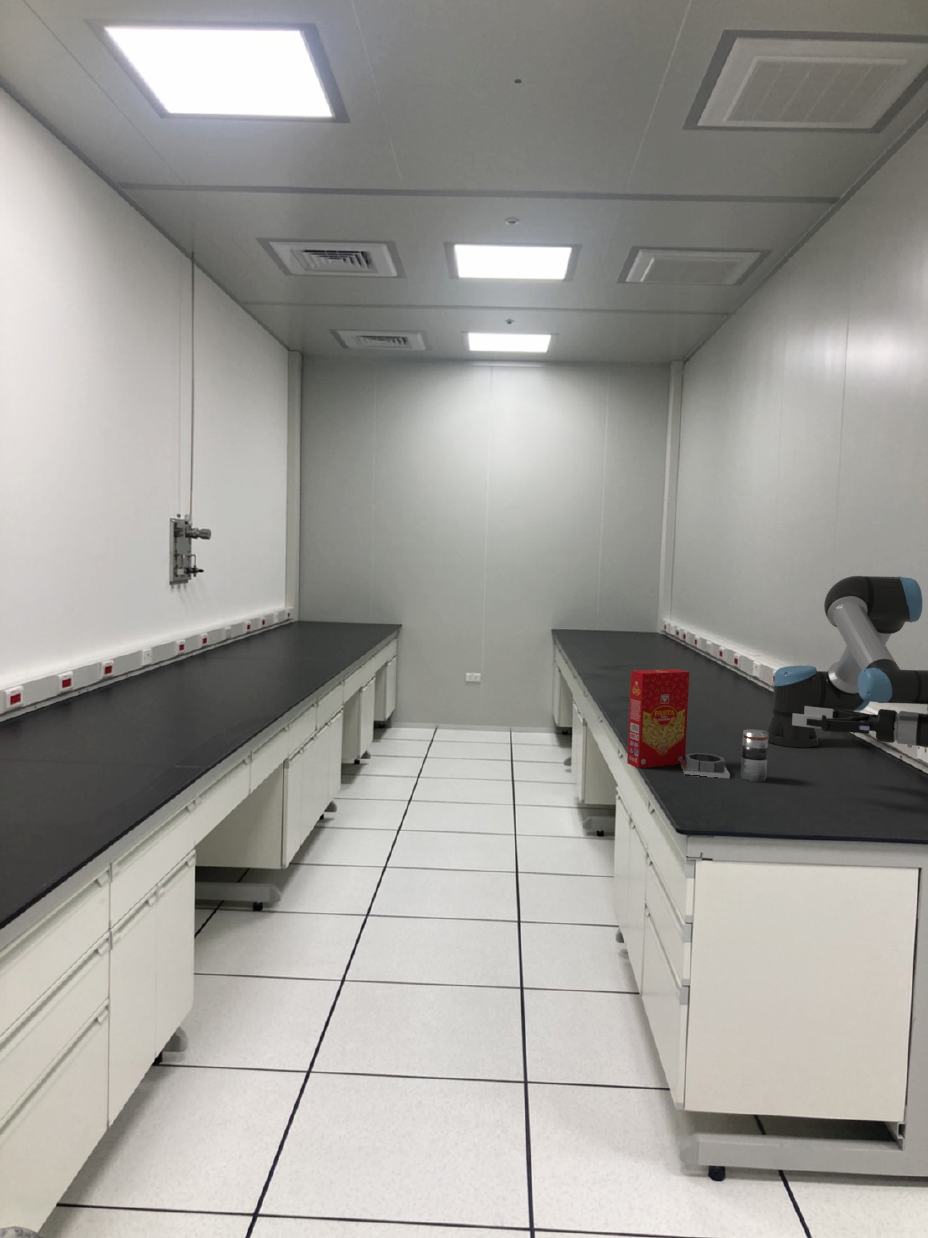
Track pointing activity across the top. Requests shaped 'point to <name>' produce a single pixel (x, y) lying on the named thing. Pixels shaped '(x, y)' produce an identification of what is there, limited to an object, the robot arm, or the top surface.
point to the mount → (704, 765)
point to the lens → (754, 755)
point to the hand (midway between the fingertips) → (798, 715)
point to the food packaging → (658, 717)
